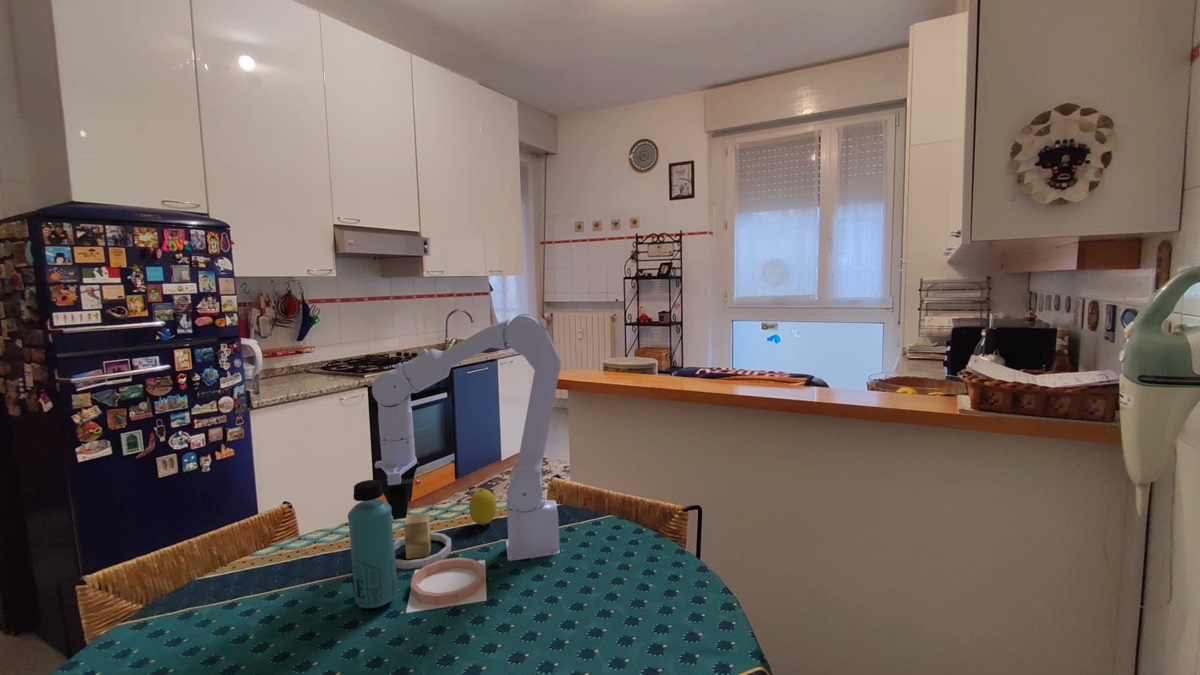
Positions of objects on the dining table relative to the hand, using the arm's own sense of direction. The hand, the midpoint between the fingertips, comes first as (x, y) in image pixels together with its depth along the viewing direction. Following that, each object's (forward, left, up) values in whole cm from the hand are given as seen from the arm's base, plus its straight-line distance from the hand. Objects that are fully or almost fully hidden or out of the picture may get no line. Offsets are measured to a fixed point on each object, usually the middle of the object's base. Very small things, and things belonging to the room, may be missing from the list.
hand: (402, 509), depth 98 cm
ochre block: (-2, -1, -10) cm, 10 cm away
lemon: (-14, -10, -10) cm, 20 cm away
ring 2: (-8, +12, -9) cm, 17 cm away
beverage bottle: (+3, +14, -10) cm, 18 cm away
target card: (-8, +12, -9) cm, 17 cm away
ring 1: (-2, -1, -9) cm, 10 cm away
